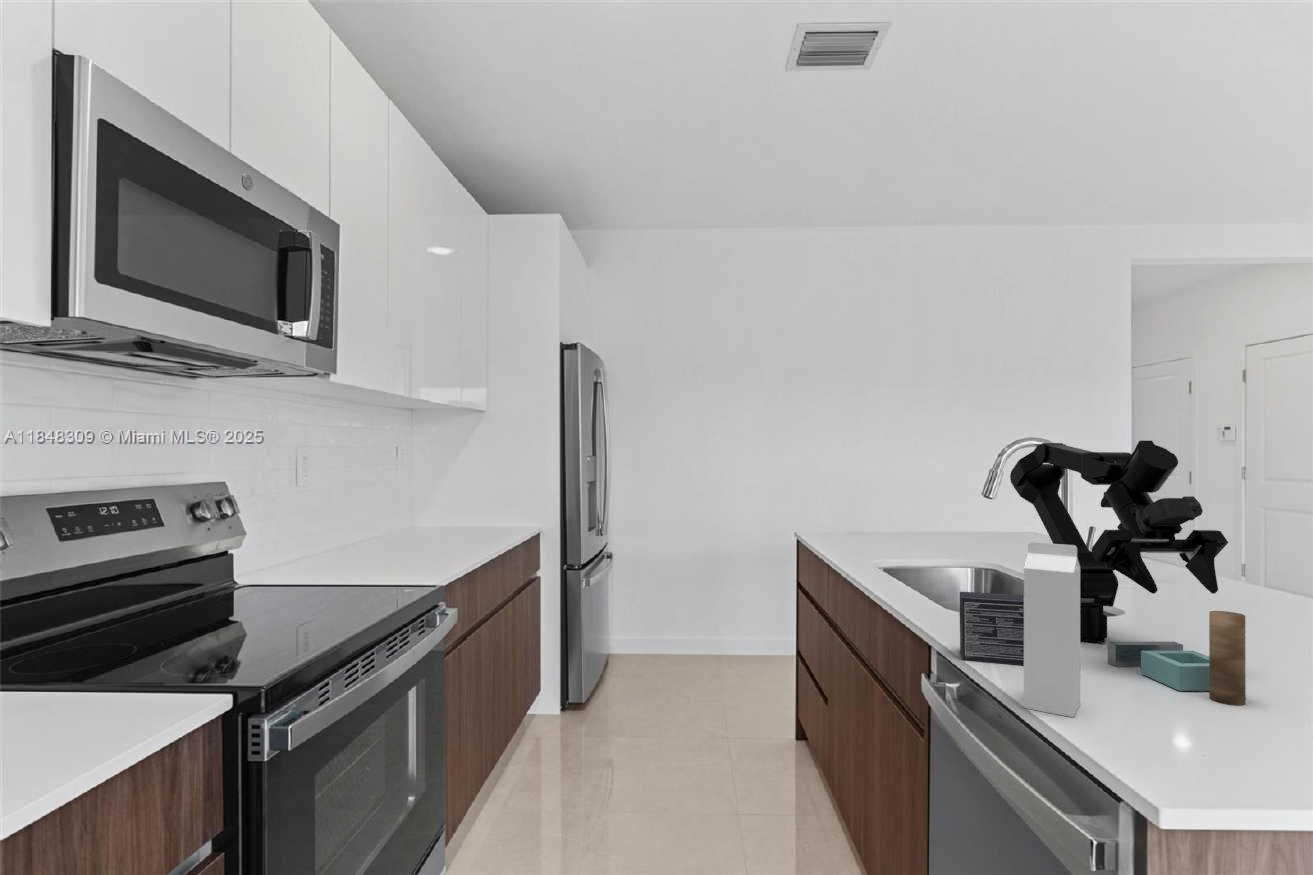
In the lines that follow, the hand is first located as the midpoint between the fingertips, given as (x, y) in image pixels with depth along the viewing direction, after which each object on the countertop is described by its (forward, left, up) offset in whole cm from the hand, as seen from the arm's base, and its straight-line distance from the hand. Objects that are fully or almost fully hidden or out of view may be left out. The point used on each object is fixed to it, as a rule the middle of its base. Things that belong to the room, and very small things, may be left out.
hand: (1185, 592), depth 113 cm
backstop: (-4, +8, -13) cm, 16 cm away
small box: (-26, +1, -14) cm, 30 cm away
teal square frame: (0, 0, -13) cm, 13 cm away
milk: (-18, -21, -14) cm, 31 cm away
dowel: (+4, -7, -13) cm, 16 cm away
